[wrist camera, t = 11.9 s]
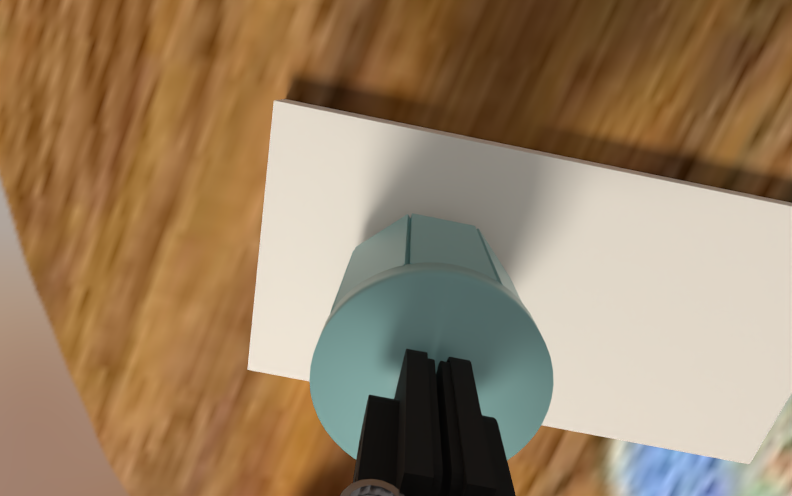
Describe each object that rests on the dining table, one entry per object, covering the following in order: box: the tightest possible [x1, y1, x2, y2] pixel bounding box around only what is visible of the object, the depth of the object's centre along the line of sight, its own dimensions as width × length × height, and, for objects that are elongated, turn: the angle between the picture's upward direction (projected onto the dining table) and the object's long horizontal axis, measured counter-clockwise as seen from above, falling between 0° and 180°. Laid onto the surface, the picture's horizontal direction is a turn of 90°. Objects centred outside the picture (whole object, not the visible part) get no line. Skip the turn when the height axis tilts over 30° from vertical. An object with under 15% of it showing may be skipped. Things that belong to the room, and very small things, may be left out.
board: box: [248, 99, 792, 464], centre depth 18 cm, size 24×12×7 cm, turn 79°
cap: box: [309, 213, 554, 460], centre depth 15 cm, size 7×7×6 cm
